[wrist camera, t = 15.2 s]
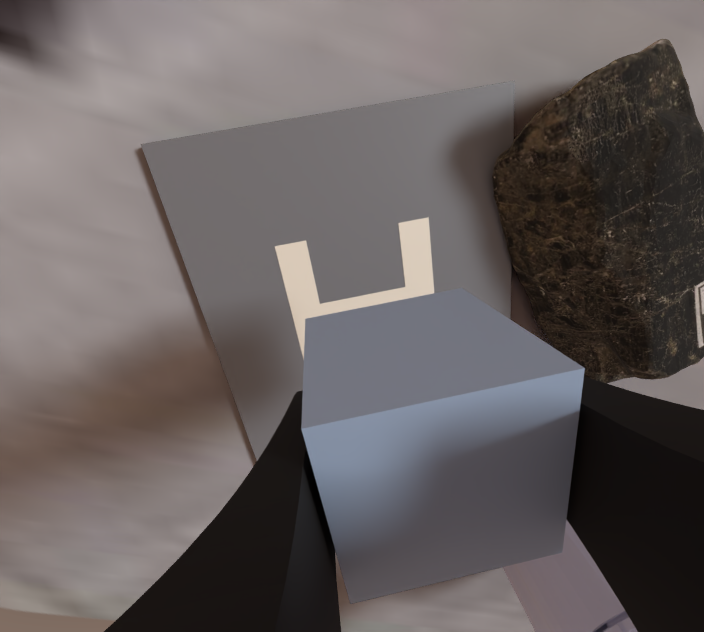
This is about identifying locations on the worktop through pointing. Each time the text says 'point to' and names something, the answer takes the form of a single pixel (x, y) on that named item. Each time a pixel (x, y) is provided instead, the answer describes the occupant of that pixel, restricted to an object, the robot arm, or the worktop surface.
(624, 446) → the robot arm
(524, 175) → the rock
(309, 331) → the gray cube
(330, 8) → the worktop surface
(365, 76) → the worktop surface
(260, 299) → the letter board
